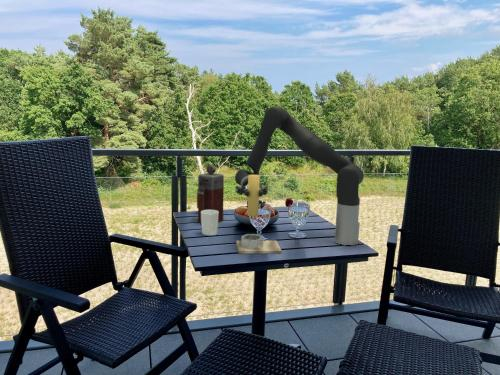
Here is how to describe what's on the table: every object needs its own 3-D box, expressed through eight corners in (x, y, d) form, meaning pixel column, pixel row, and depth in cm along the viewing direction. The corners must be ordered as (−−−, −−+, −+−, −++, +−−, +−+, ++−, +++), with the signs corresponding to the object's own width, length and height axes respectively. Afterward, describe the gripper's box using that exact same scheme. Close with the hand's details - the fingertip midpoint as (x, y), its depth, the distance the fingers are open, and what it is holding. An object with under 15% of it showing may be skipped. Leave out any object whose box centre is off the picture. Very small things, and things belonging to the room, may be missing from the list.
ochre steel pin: (257, 213, 176) (258, 174, 173) (258, 216, 172) (260, 176, 169) (246, 213, 176) (247, 174, 173) (247, 216, 172) (249, 176, 168)
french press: (194, 222, 211) (194, 165, 205) (209, 217, 220) (209, 162, 214) (208, 225, 206) (209, 167, 200) (223, 220, 215) (224, 164, 210)
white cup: (202, 236, 190) (202, 214, 188) (199, 231, 197) (199, 209, 195) (219, 235, 192) (220, 213, 190) (216, 230, 199) (216, 209, 197)
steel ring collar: (261, 242, 181) (261, 234, 180) (264, 249, 173) (264, 240, 172) (240, 242, 180) (240, 234, 179) (242, 249, 172) (242, 240, 171)
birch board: (276, 242, 184) (276, 240, 184) (281, 253, 171) (281, 250, 171) (236, 242, 182) (236, 240, 182) (238, 253, 170) (238, 251, 169)
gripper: (233, 176, 185) (236, 184, 168) (266, 177, 186) (272, 185, 169) (233, 194, 186) (235, 203, 169) (266, 194, 188) (272, 203, 171)
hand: (254, 194), depth 170 cm, fingers closed on ochre steel pin, 4 cm apart
